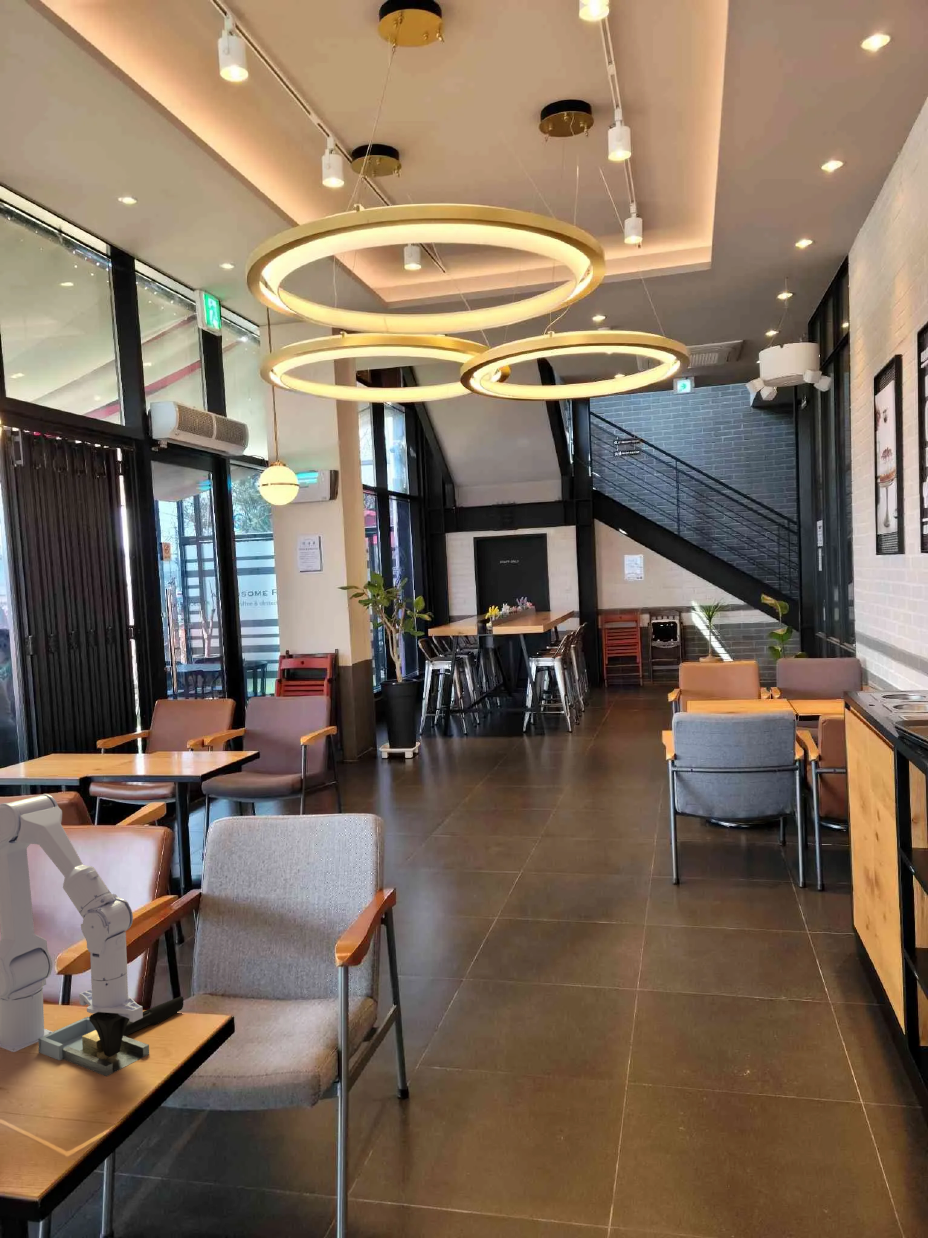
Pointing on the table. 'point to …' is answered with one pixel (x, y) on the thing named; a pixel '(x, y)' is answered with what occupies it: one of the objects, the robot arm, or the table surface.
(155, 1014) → the electric trimmer
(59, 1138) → the table surface
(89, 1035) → the yellow cube
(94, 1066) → the slot bed
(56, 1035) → the tray
